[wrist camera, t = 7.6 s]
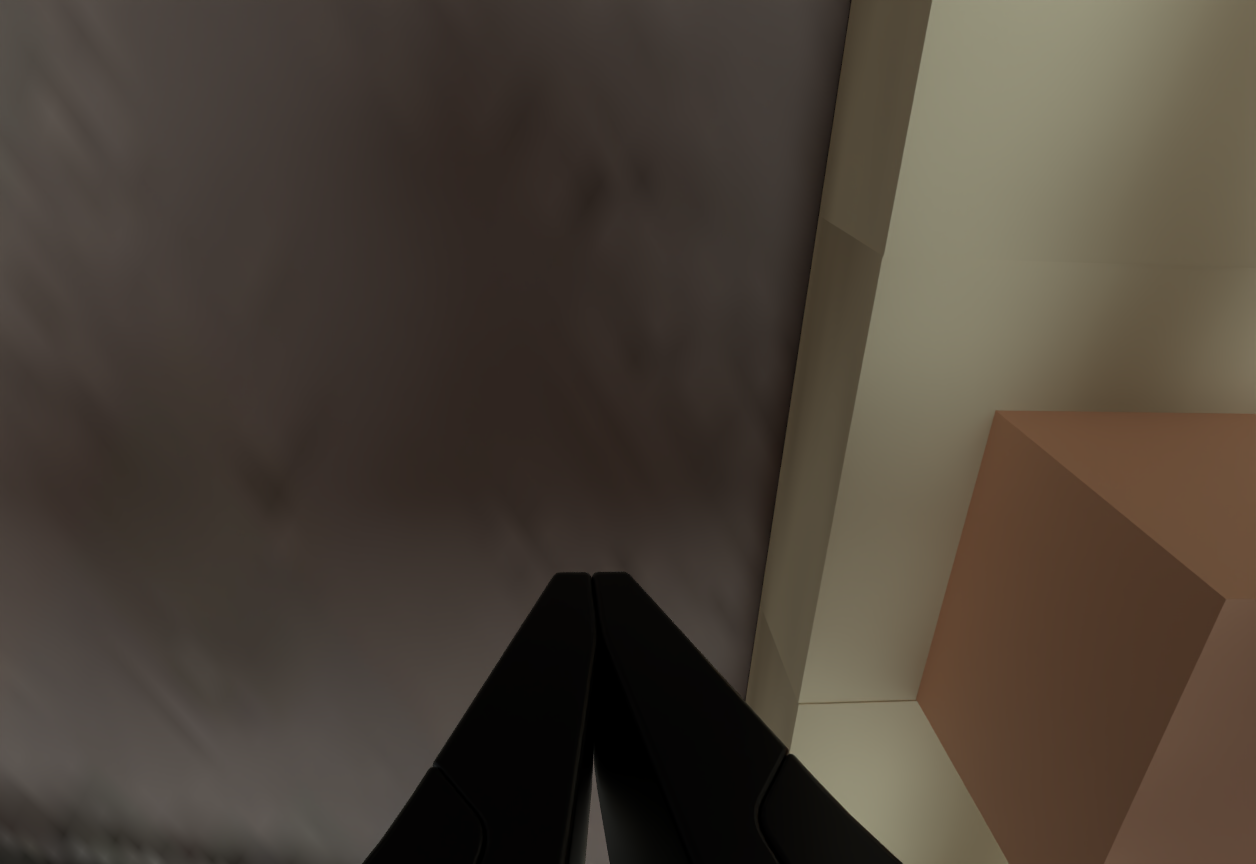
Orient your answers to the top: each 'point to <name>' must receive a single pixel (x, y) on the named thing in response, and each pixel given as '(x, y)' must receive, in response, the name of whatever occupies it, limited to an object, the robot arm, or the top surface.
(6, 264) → the top surface
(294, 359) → the top surface
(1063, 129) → the tray
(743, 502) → the top surface
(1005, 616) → the block
